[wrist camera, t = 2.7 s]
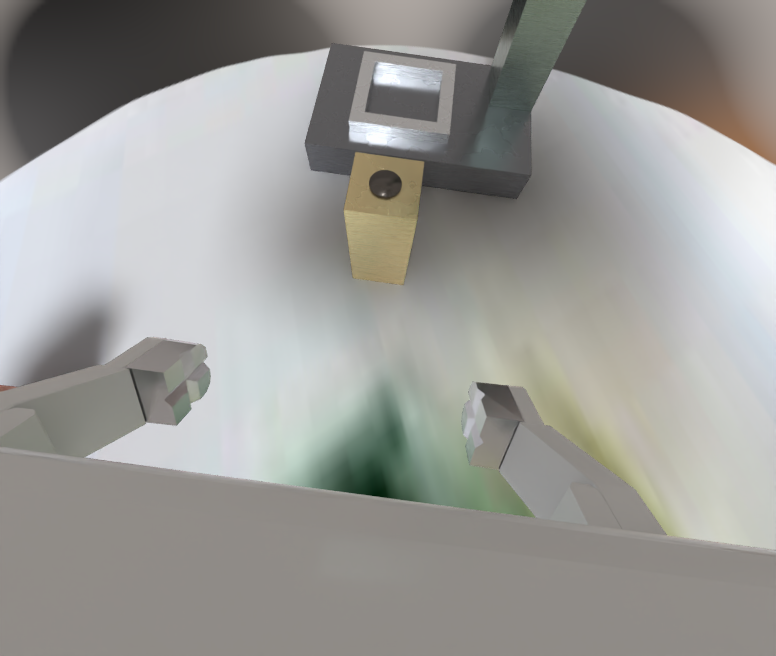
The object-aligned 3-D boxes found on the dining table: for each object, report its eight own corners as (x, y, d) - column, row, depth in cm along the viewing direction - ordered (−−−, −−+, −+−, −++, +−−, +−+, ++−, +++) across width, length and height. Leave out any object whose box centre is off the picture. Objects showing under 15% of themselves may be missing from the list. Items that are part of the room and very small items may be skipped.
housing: (408, 241, 29) (424, 159, 20) (403, 285, 27) (417, 218, 19) (360, 234, 29) (355, 149, 20) (352, 278, 27) (343, 208, 19)
